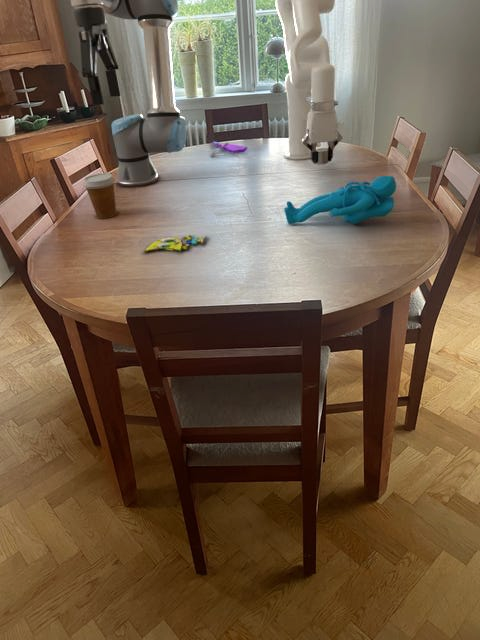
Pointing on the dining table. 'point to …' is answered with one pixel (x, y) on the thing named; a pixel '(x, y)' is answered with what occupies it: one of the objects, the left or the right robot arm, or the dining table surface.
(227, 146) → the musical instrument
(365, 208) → the toy
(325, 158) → the canister
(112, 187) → the disposable coffee cup
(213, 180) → the dining table surface
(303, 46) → the right robot arm
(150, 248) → the toy
